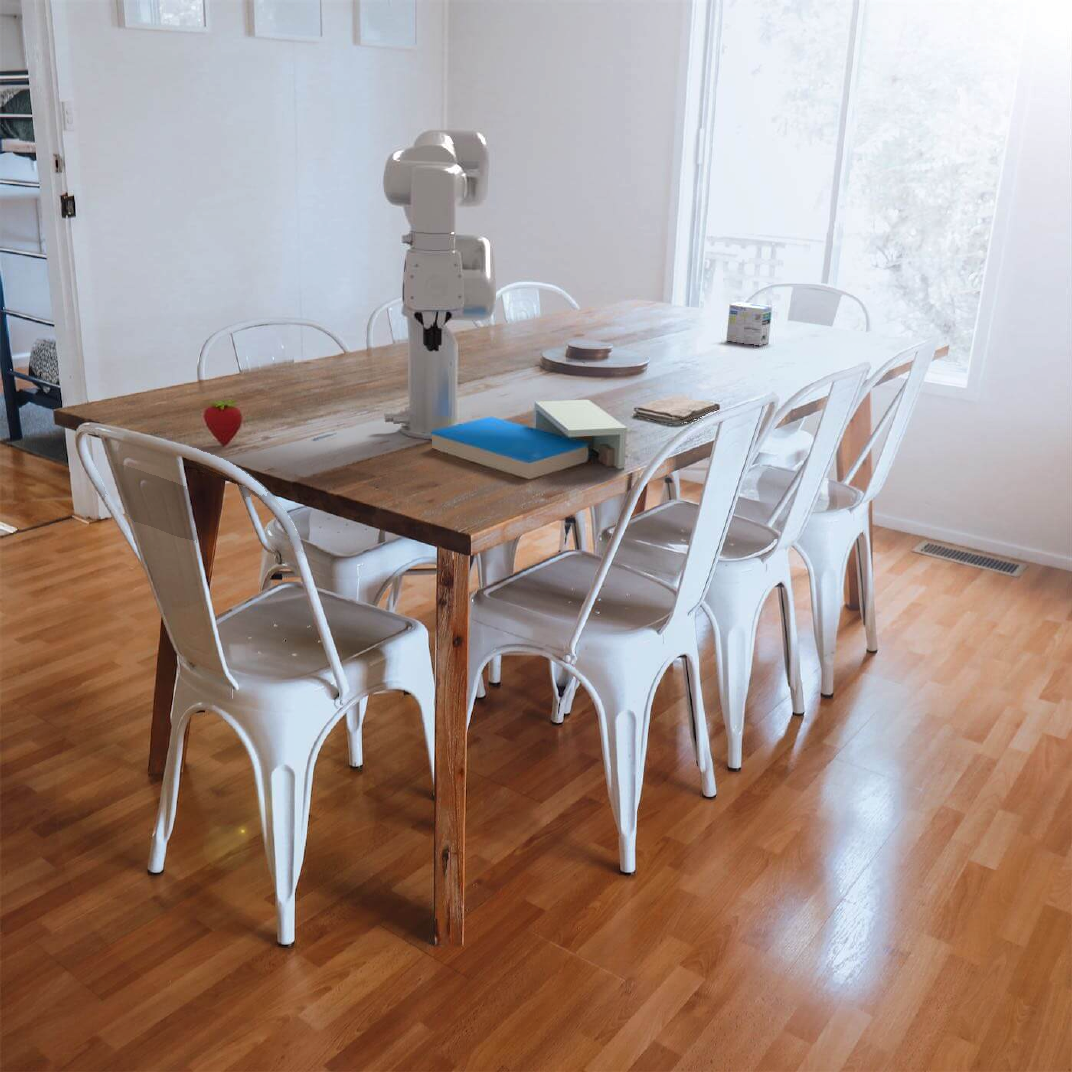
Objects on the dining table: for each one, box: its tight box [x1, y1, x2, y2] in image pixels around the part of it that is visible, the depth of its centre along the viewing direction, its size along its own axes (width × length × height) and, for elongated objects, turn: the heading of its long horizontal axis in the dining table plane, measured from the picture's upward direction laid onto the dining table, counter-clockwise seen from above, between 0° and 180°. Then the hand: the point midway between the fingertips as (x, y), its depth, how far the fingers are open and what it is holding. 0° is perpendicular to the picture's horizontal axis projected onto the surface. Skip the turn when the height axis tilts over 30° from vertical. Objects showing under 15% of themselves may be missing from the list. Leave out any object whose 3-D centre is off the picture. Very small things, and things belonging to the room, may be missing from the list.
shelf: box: [533, 399, 628, 470], centre depth 212 cm, size 11×21×8 cm, turn 17°
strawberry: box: [203, 391, 243, 446], centre depth 208 cm, size 6×8×10 cm
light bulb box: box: [726, 301, 773, 347], centre depth 323 cm, size 11×7×11 cm, turn 58°
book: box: [431, 416, 591, 480], centre depth 210 cm, size 17×4×25 cm
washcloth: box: [632, 395, 721, 426], centre depth 244 cm, size 12×18×3 cm, turn 142°
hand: (432, 349), depth 198 cm, fingers closed
